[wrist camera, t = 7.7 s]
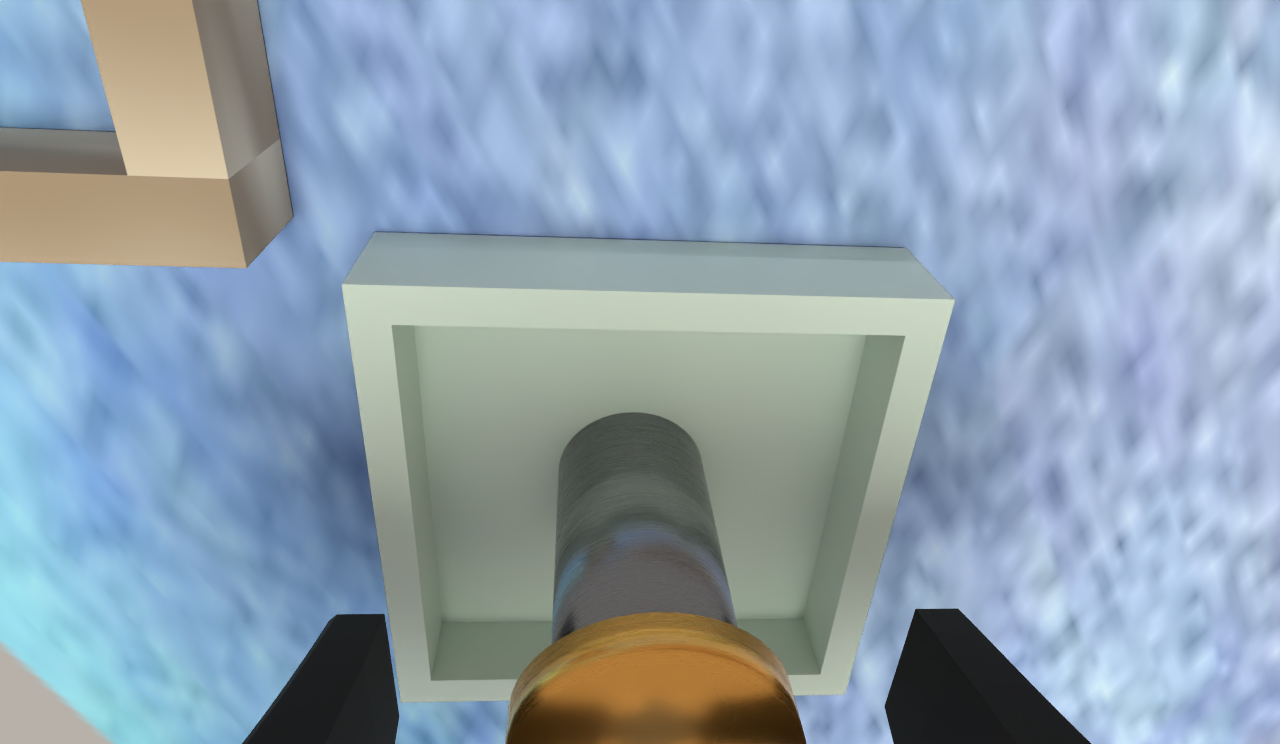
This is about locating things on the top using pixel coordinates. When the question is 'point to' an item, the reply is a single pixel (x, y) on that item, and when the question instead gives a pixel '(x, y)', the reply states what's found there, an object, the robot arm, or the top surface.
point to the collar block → (156, 147)
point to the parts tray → (633, 382)
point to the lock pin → (645, 607)
